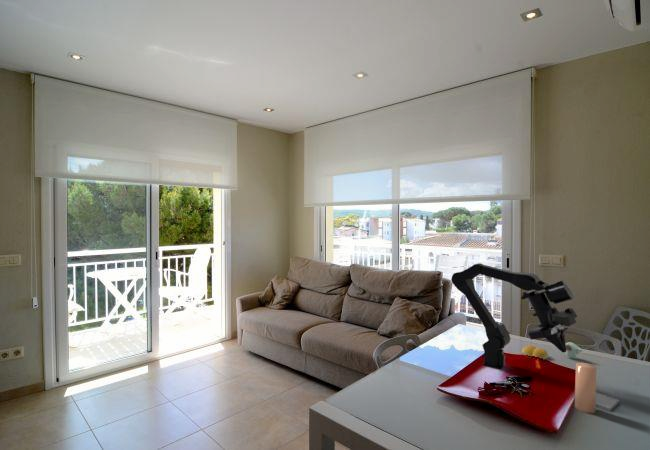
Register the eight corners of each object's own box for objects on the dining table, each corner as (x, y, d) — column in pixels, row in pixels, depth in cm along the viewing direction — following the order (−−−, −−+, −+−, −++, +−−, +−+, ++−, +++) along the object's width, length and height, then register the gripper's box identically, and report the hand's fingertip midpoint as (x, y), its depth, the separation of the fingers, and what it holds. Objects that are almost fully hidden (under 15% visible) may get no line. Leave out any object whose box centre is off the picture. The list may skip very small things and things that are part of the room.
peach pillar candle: (574, 409, 105) (575, 366, 105) (574, 402, 109) (576, 361, 109) (595, 415, 102) (597, 370, 102) (595, 408, 106) (596, 365, 106)
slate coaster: (574, 398, 112) (574, 396, 112) (584, 390, 117) (584, 388, 117) (609, 411, 105) (609, 408, 104) (618, 402, 110) (618, 399, 110)
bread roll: (544, 362, 142) (544, 352, 142) (520, 355, 148) (520, 346, 148) (551, 357, 147) (551, 347, 147) (527, 350, 154) (527, 341, 154)
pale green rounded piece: (583, 361, 143) (584, 344, 143) (578, 362, 141) (578, 346, 141) (563, 354, 150) (563, 338, 150) (557, 355, 148) (557, 339, 148)
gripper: (546, 309, 115) (571, 358, 110) (578, 296, 123) (603, 341, 118) (518, 316, 124) (540, 361, 119) (550, 303, 132) (571, 344, 128)
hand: (564, 352), depth 121 cm, fingers closed
